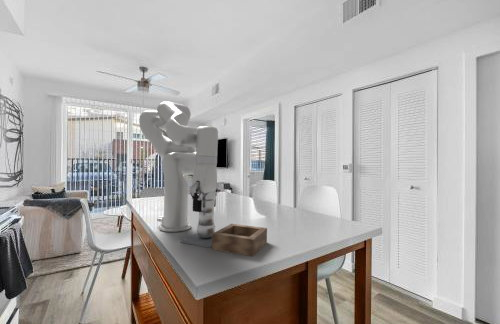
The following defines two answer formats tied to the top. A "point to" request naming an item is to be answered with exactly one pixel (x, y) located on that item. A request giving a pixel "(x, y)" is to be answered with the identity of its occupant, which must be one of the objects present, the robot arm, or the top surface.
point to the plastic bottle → (206, 216)
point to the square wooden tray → (239, 239)
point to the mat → (198, 241)
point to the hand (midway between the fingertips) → (204, 208)
